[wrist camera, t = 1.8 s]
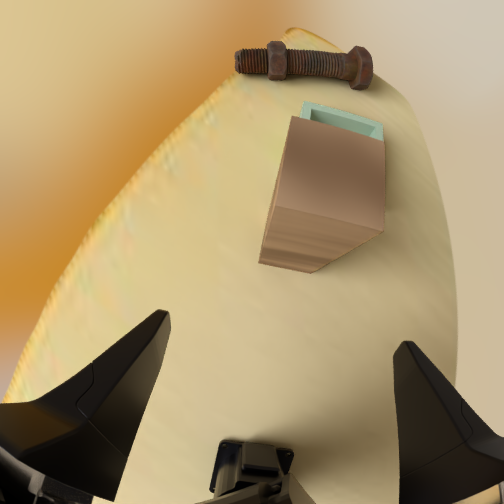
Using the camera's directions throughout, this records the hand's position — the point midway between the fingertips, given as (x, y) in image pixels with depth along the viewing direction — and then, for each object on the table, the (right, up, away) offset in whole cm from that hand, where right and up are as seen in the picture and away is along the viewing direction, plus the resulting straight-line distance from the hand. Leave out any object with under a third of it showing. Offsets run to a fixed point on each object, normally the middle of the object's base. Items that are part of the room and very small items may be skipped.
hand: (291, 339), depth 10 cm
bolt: (+4, +24, +18) cm, 30 cm away
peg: (+2, +4, +14) cm, 14 cm away
